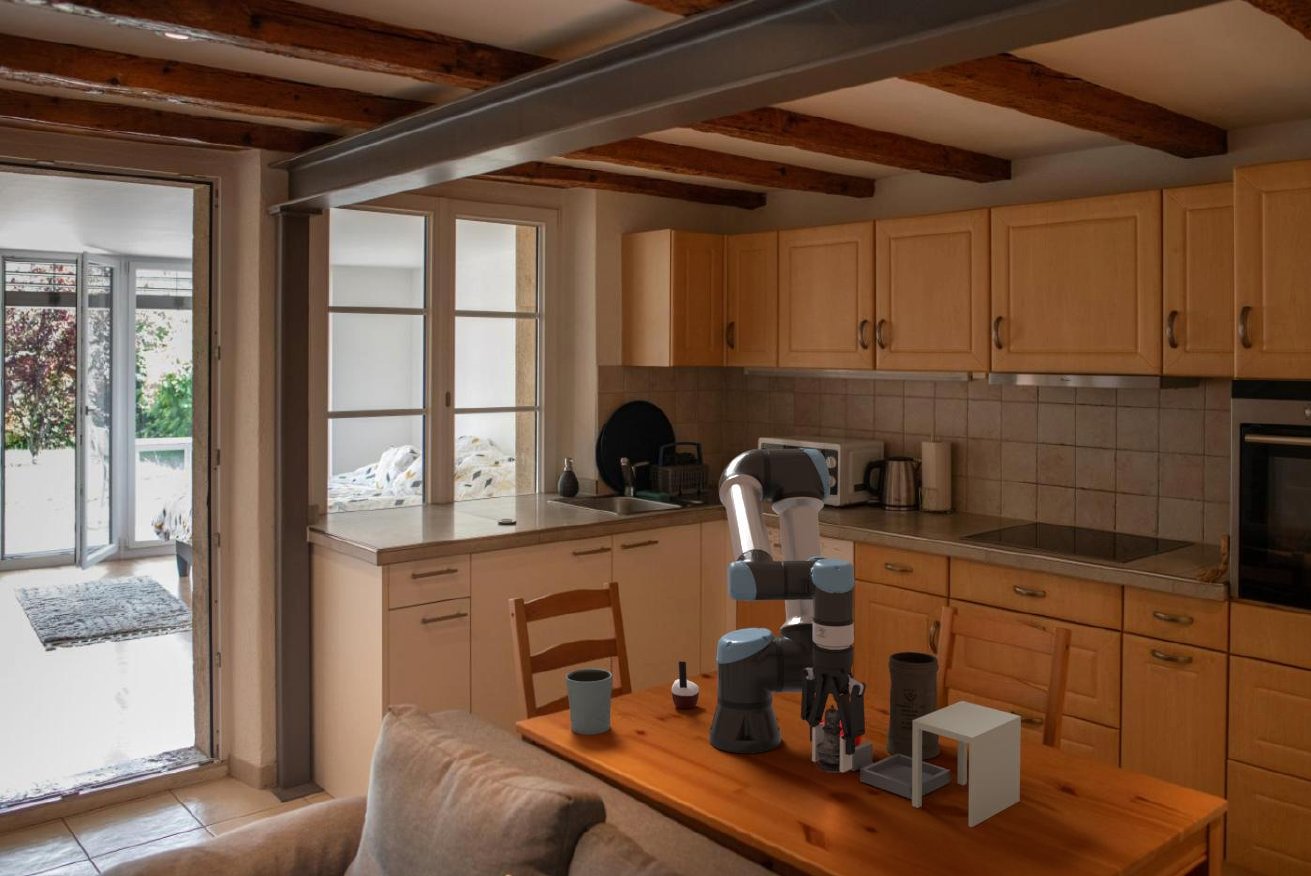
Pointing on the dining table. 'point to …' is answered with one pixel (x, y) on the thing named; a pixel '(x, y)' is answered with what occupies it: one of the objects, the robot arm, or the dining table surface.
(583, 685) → the grey-blue cup
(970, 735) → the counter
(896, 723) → the beer stein
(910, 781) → the tray
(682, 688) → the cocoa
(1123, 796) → the dining table surface
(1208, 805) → the dining table surface
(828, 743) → the dark grey tall piece
